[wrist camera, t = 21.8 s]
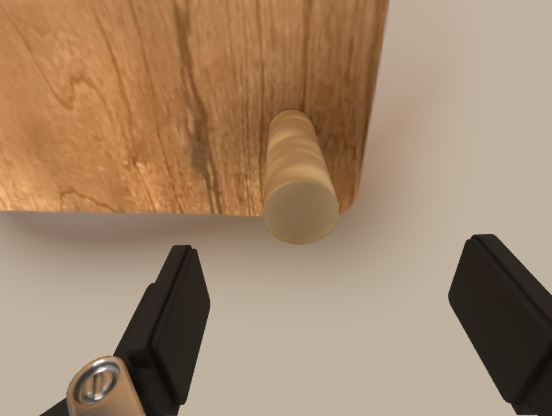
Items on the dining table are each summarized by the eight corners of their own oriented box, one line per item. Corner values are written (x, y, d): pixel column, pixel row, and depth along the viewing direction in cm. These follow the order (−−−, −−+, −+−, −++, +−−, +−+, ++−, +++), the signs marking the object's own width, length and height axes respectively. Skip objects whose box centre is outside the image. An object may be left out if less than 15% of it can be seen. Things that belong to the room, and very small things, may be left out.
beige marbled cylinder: (313, 107, 24) (341, 178, 13) (313, 151, 26) (338, 243, 15) (266, 110, 24) (259, 183, 14) (270, 154, 26) (266, 247, 16)
